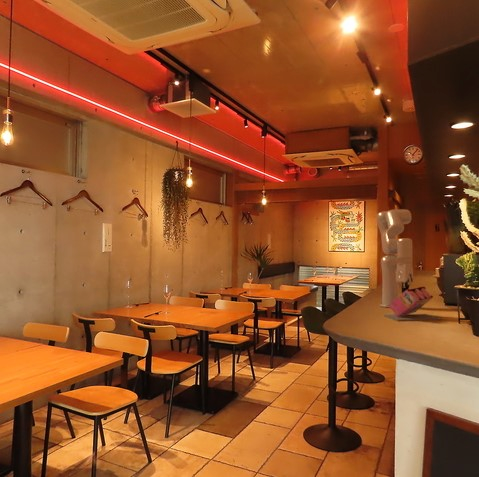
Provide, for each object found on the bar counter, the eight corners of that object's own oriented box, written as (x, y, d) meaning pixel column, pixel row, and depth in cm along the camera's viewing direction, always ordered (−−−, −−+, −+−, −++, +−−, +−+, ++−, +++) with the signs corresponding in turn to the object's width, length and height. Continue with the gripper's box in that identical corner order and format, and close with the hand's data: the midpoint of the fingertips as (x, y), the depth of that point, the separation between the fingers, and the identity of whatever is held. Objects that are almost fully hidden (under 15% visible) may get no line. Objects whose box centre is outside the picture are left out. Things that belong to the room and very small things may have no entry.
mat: (384, 316, 219) (384, 314, 219) (426, 315, 222) (426, 314, 222) (397, 321, 205) (397, 319, 205) (442, 320, 208) (442, 318, 208)
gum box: (406, 300, 232) (424, 285, 225) (416, 312, 229) (435, 297, 222) (387, 305, 216) (406, 289, 209) (397, 317, 212) (417, 301, 205)
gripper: (391, 261, 229) (391, 294, 228) (405, 261, 214) (406, 296, 213) (403, 261, 230) (404, 294, 229) (419, 261, 215) (419, 296, 214)
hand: (405, 295), depth 221 cm, fingers closed
